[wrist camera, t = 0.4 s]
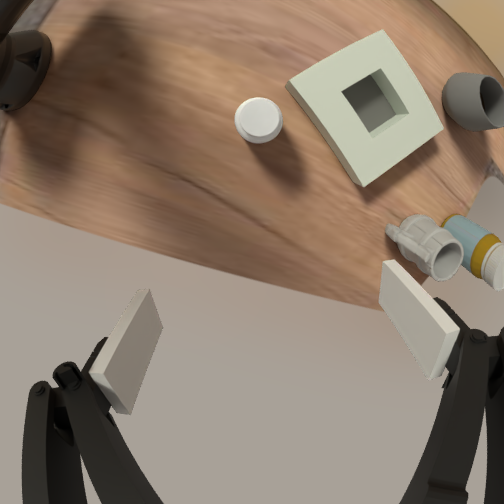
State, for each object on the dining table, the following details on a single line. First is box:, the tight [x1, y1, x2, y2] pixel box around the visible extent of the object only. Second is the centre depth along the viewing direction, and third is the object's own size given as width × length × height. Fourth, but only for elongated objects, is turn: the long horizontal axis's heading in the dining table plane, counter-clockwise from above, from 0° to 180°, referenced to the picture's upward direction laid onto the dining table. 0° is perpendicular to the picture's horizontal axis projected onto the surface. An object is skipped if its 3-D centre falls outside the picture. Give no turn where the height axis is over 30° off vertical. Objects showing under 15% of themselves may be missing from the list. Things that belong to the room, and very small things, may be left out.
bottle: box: [441, 214, 504, 291], centre depth 32 cm, size 7×7×15 cm
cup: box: [442, 73, 504, 132], centre depth 26 cm, size 10×9×10 cm
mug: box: [385, 214, 464, 281], centre depth 33 cm, size 8×12×12 cm, turn 75°
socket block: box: [285, 29, 444, 187], centre depth 30 cm, size 16×16×4 cm
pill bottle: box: [235, 97, 283, 143], centre depth 29 cm, size 5×5×9 cm
